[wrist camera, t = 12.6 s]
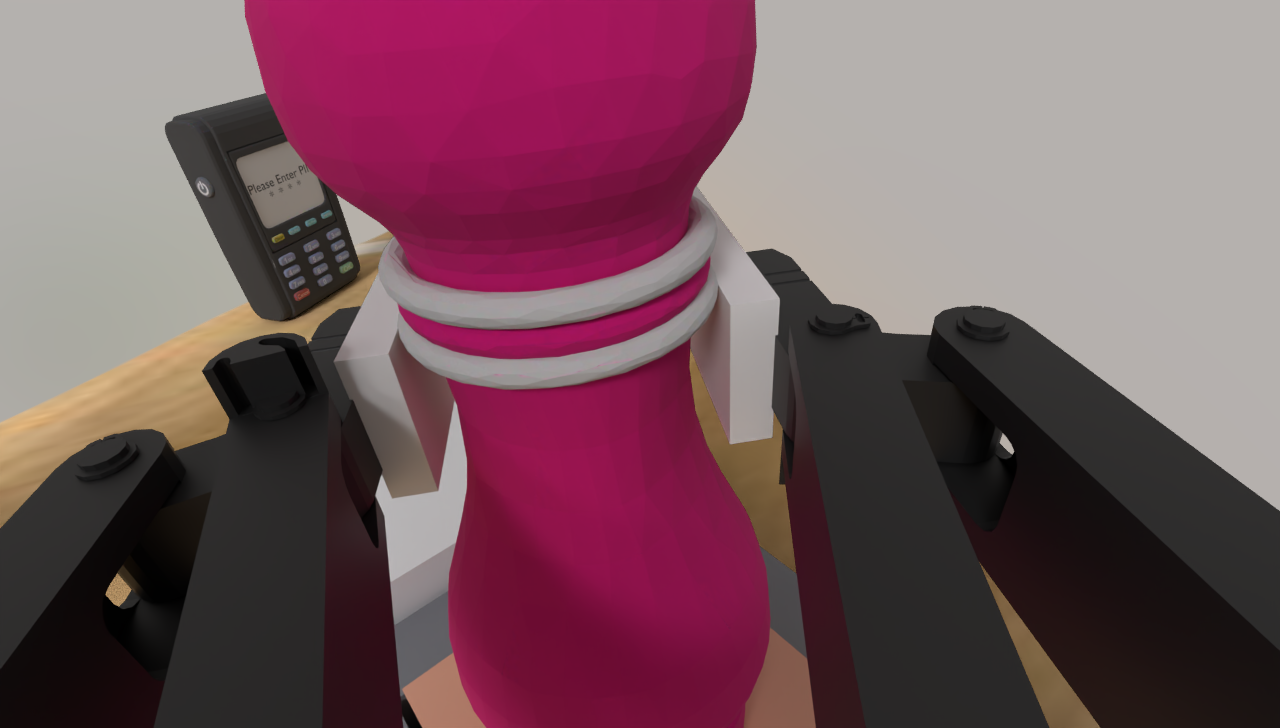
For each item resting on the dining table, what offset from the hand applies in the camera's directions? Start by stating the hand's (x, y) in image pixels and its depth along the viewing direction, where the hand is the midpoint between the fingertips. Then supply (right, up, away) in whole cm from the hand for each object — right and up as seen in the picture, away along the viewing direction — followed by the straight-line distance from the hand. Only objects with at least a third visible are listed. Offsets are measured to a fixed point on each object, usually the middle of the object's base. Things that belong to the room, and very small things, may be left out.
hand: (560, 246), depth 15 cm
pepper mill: (+2, -12, +2) cm, 12 cm away
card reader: (-25, +2, +36) cm, 44 cm away
